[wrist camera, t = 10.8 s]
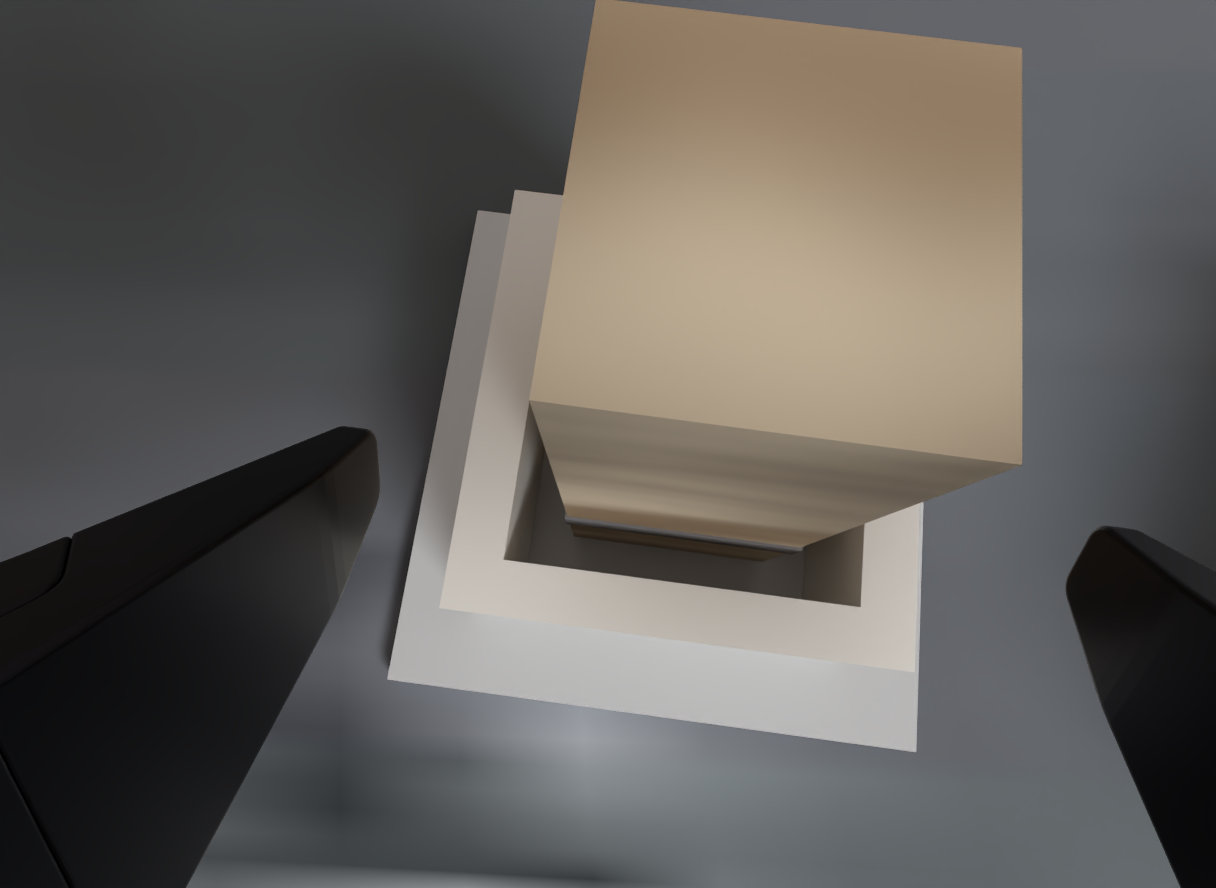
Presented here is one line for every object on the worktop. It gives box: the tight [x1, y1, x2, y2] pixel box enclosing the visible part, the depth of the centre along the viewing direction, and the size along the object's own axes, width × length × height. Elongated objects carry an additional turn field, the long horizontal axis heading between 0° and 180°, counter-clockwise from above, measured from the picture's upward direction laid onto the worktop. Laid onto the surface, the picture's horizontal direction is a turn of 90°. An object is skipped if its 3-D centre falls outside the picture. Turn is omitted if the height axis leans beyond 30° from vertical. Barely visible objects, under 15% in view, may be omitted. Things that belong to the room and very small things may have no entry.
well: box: [387, 190, 923, 752], centre depth 16 cm, size 12×12×4 cm
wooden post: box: [529, 0, 1022, 562], centre depth 13 cm, size 5×5×11 cm
